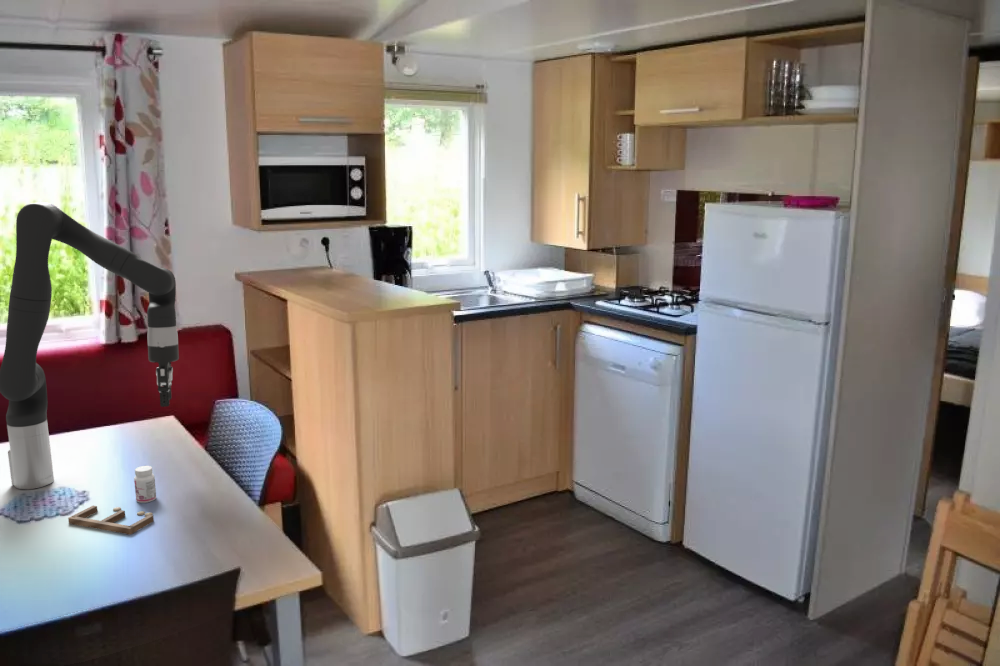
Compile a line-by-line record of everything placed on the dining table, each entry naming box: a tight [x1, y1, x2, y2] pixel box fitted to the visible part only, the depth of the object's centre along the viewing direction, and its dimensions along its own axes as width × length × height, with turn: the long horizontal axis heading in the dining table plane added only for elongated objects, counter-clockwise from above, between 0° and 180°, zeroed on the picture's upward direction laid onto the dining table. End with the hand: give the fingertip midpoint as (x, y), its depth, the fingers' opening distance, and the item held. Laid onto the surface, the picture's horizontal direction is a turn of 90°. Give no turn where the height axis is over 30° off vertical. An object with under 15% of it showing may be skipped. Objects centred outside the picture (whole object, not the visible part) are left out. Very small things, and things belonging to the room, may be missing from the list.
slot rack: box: [67, 505, 155, 536], centre depth 197 cm, size 18×11×2 cm, turn 71°
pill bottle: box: [133, 465, 157, 504], centre depth 208 cm, size 5×5×8 cm
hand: (166, 403), depth 220 cm, fingers open, 8 cm apart
